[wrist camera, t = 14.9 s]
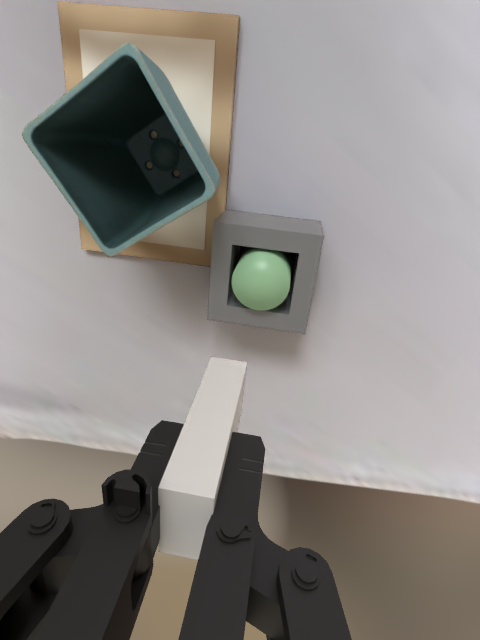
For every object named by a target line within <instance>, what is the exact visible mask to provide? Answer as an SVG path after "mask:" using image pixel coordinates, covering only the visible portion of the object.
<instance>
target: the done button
mask: <svg viewBox="0 0 480 640" xmlns="http://www.w3.org/2000/svg"><path fill="white" fill-rule="evenodd" d="M291 268H292V261H291V257H290V254H289V252H285V251H277V250H270V249H262V248H255V247H247V248H246V249H245V251H244V252H243V254H242V256H241V258H240V260H239V262H238V264H237V266H236V268H235V270H234V272H233V275H232V289H233V292H234V294H235V296H236V298H237V299H238V300H239V301H240V302H241V303H242V304H243V305H245V306H246V307H248V308H251V309H254V310H260V311H263V310H270V309H273V308H275V307H277V306H278V305H280V304H281V303H282V302H283V301H284V300H285V298H286V297H287V295H288V293H289V289H290V280H291Z"/></svg>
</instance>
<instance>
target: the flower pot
mask: <svg viewBox="0 0 480 640" xmlns="http://www.w3.org/2000/svg"><path fill="white" fill-rule="evenodd" d="M152 131H155V132H156V133H157V137H156V138H152V137H151V132H152ZM22 136H23V139H24V141H25V142H26V144H27V145H28V147H29V148H30V150H31V151H32V153H33V154H34V155H35V156H36V158H37V159H38V161H39V162H40V164H41V165H42V166H43V168H44V169H45V171H46V172H47V173H48V175H49V176H50V177H51V179H52V180H53V182H54V183H55V185H56V186H57V187H58V188H59V190H60V191H61V193H62V194H63V195H64V197H65V199H66V200H67V201H68V203H69V204H70V205H71V207H72V208H73V210H74V211H75V212H76V214H77V215H78V217H79V218H80V220H81V221H82V223H83V224H84V226H85V227H86V228H87V230H88V231H89V233H90V234H91V236H92V237H93V239H94V240H95V242H96V243H97V245H98V246H99V248H100V249H101V250H102V251H103V252H104V253H105V254H106V255H107V256H108V257H113V256H116V255H118V254H119V253H121V252H122V251H124V250H126V249H127V248H129V247H130V246H132V245H134V244H135V243H137V242H139V241H140V240H142V239H143V238H145V237H147V236H148V235H150V234H152V233H153V232H155V231H157V230H158V229H160V228H162V227H164V226H165V225H167V224H169V223H170V222H172V221H174V220H175V219H177V218H179V217H180V216H182V215H184V214H186V213H187V212H189V211H191V210H192V209H194V208H196V207H198V206H199V205H201V204H203V203H205V202H206V201H208V200H210V199H211V198H212V197H213V196H214V195H215V192H216V190H217V188H218V186H219V184H220V179H221V178H220V174H219V171H218V169H217V168H216V166H215V164H214V162H213V160H212V159H211V157H210V155H209V153H208V151H207V150H206V148H205V146H204V144H203V142H202V140H201V139H200V137H199V135H198V133H197V131H196V130H195V128H194V126H193V124H192V122H191V120H190V119H189V117H188V115H187V113H186V111H185V109H184V108H183V106H182V104H181V102H180V100H179V98H178V97H177V95H176V93H175V91H174V89H173V87H172V85H171V83H170V82H169V80H168V78H167V77H166V75H165V74H164V72H163V71H162V70H161V69H160V68H159V67H158V66H157V65H156V64H155V63H154V62H153V61H152V60H151V59H150V58H149V57H148V56H146V55H145V54H144V53H143V52H142V51H141V50H140V49H139V48H138V47H136V46H135V45H134V44H133V43H130V42H126V43H124V44H123V45H121V46H120V47H119V48H117V49H116V50H115V51H114V52H113V53H112V54H111V55H110V56H108V57H107V58H106V59H105V60H104V61H103V62H102V63H100V64H99V65H98V66H97V67H96V68H95V69H94V70H93V71H91V72H90V73H89V74H88V75H87V76H86V77H85V78H84V79H82V80H81V81H80V82H79V83H78V84H76V85H75V86H74V87H73V88H72V89H70V90H69V91H68V92H67V93H66V94H65V95H63V96H62V97H61V98H60V99H59V100H57V101H56V102H55V103H54V104H53V105H52V106H50V107H49V108H48V109H47V110H45V111H44V112H43V113H42V114H40V115H39V116H38V117H37V118H35V119H34V120H33V121H31V122H30V123H29V124H28V125H27V126H26V127H25V128H24V130H23V133H22ZM180 140H181V142H182V144H183V146H184V147H180V146H179V141H180ZM147 162H151V163H152V165H153V166H152V168H148V167H147ZM175 170H178V171H179V173H180V174H179V176H175V175H174V173H173V172H174V171H175Z"/></svg>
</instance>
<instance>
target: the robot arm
mask: <svg viewBox="0 0 480 640" xmlns="http://www.w3.org/2000/svg"><path fill="white" fill-rule="evenodd" d="M246 368H247V362H243V361H236V360H230V359H224V358H218V357H211V359H210V361H209V364H208V366H207V369H206V371H205V374H204V376H203V379H202V381H201V384H200V386H199V389H198V391H197V394H196V396H195V398H194V401H193V403H192V406H191V408H190V411H189V413H188V416H187V418H186V421H185V423H184V424H180V423H175V422H169V421H163V420H162V421H161V422H159V423H158V424H157V425H156V426H155V427H154V428H152V429H151V431H150V433H149V435H148V437H147V439H146V441H145V443H144V445H143V447H142V449H141V451H140V453H139V454H138V456H137V458H136V461H135V462H134V464H133V466H132V468H131V470H123V471H119V472H116V473H115V474H113V475H111V476H110V477H108V478H107V479H106V481H105V482H104V483H103V484H102V493H103V502H104V504H102V505H99V506H96V507H91V508H83V509H74V510H69V507H68V505H67V504H66V503H64V502H63V501H61V500H57V499H46V500H42V501H39V502H37V503H35V504H32V505H31V506H30V507H28V508H27V509H25V510H24V511H23V512H22V513H21V514H20V515H19V516H18V517H17V518H16V519H15V520H14V521H12V523H10V524H9V525H8V526H7V527H6V528H5V529H4V530H3V531H2V532H1V533H0V640H129V639H130V636H131V633H132V630H133V628H134V624H135V622H136V619H137V616H138V613H139V610H140V607H141V604H142V601H143V598H144V595H145V592H146V589H147V586H148V583H149V580H150V577H151V574H152V569H153V557H154V554H155V551H156V549H157V546H158V543H159V552H163V553H167V554H172V555H177V556H182V557H186V558H192V559H196V560H198V563H197V567H196V571H195V575H194V579H193V583H192V587H191V592H190V595H189V599H188V603H187V607H186V611H185V616H184V620H183V624H182V628H181V632H180V636H179V640H243V638H244V631H245V622H246V621H247V622H249V623H250V624H251V625H253V626H255V627H256V628H257V629H259V630H260V631H262V632H263V633H265V634H266V637H267V640H352V639H351V636H350V632H349V629H348V625H347V622H346V619H345V615H344V612H343V608H342V605H341V602H340V598H339V594H338V591H337V588H336V584H335V581H334V577H333V574H332V572H331V570H330V567H329V565H328V563H327V562H326V561H325V560H324V559H323V558H322V556H321V555H320V554H318V553H316V552H314V551H313V550H311V549H307V548H301V547H299V548H295V549H291V550H290V551H287V550H285V549H284V548H282V547H280V546H278V545H277V544H275V543H274V542H272V541H271V540H269V539H268V538H267V537H266V535H265V534H264V533H263V531H262V530H261V528H260V526H259V522H258V506H259V498H260V489H261V481H262V472H263V463H264V455H265V447H264V444H263V442H262V439H261V437H259V436H254V435H248V434H242V433H237V430H238V425H239V421H240V416H241V410H242V401H243V393H244V385H245V376H246Z"/></svg>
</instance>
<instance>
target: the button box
mask: <svg viewBox="0 0 480 640" xmlns="http://www.w3.org/2000/svg"><path fill="white" fill-rule="evenodd" d="M323 238H324V234H323V229H322V224H321V221H314V220H306V219H298V218H289V217H281V216H273V215H265V214H257V213H249V212H241V211H233V210H225V211H224V212H223V213H222V214H221V215H220V216H219V217H218V218H217V219H216V220H215V221H214V222H213V236H212V253H211V269H210V286H209V302H208V319H207V320H214V321H220V322H227V323H234V324H240V325H247V326H254V327H260V328H267V329H273V330H280V331H287V332H293V333H300V334H305V331H306V326H307V321H308V316H309V310H310V305H311V300H312V295H313V290H314V285H315V279H316V274H317V269H318V264H319V259H320V254H321V248H322V243H323ZM240 246H247V247H255V248H262V249H270V250H277V251H285V252H292V253H297V257H296V263H295V269H294V275H293V281H292V287H291V291H289V293H288V295H287V297H286V298H285V300H284V301H283V302H282V303H281V304H280V305H278V306H277V307H275V308H273V309H270V310H263V311H260V310H254V309H251V308H248V307H246V306H245V305H243V304H242V303H241V302H240V301H239V300H238V299H237V298H236V296H235V294H234V292H233V289H232V275H233V272H234V270H235V268H236V266H237V264H238V262H239V251H240Z"/></svg>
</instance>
